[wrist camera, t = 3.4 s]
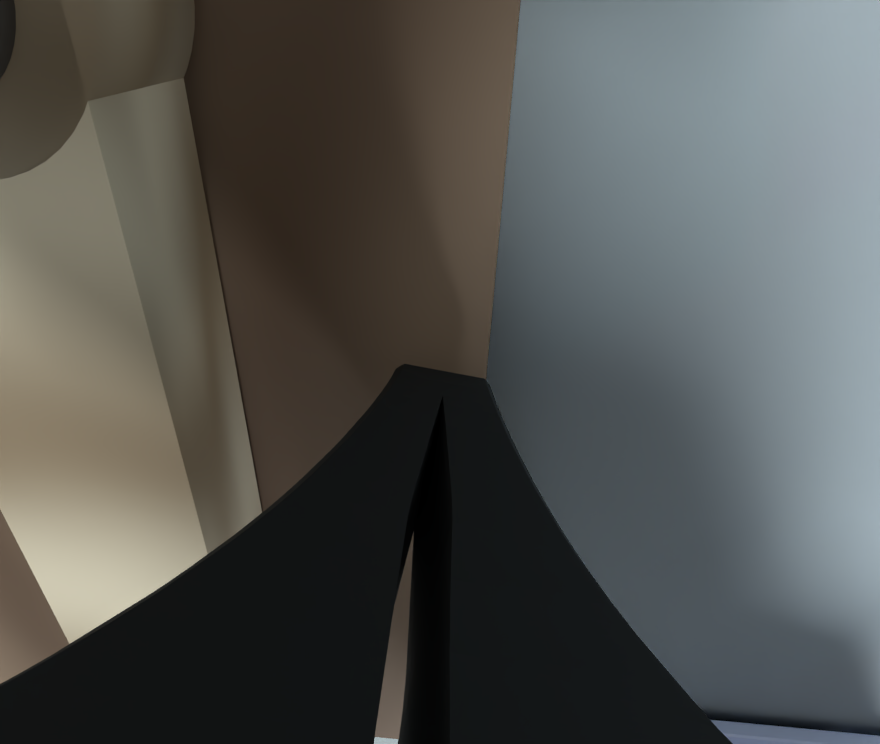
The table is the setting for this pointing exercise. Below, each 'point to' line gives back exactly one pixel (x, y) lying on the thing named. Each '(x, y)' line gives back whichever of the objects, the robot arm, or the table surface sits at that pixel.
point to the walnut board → (335, 231)
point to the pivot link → (110, 311)
